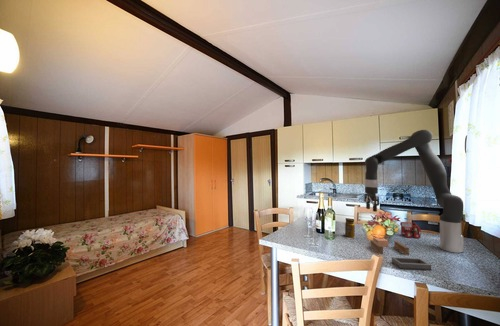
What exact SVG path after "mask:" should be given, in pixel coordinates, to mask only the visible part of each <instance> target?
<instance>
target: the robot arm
mask: <svg viewBox="0 0 500 326" xmlns="http://www.w3.org/2000/svg"><path fill="white" fill-rule="evenodd" d="M433 138H434V134H433V133H432V131H430V130H428V129H420V130H417V131H415V132H413V133H412V134H411V135H410V137H408V138H407V139H404V140H403V141H400V142H398V143H395V144H394V145H391V146H389V147H387V148H384V149H383V150H381V151H379V152H378V153H376V154H373V155H371V156H369V157H367V158H366V159H365V160H364V164H365V181H364V195H363V196H364V197H363V199H364V200H363V202H364V203H365V204H366V205H365V206H366V207H365V208H366V209H367V210H370V209H371V203H372V212H376V213H377V211H378V206H380V196H379V195H378V193H379V188H378V187H379V183H378V169H379V168H378V167H379V164H381V163H383V162H386V161H389V160H391V159H393V158H395V157H397V156H399V155H401V154H403V153H405V152H407V151H409V150H411V149H413V148H415V151H416V152H417V154H418V157H419V159H420V162H421V165H422V167H423V169H424V172H425V173H426V176H427V179H428V180H429V183H430V184H431V187H432V190H433V193H434V196H435V199H436V203H437V204H438V205H439V207H441V208H442V214H441V215H440V214H439V247H440V249H441V250H443V251H445V252H450V253H456V254H457V253H458V254H460V253H463V252H464V235H462V220H463V218H464V200H463V199H462V198H461V197H460V196H457V195H455V194H452V193H451V191H450V189H449V187H448V183H447V182H448V181H447V177H448V175H447V171H446V168H445V166H444V164H443V162H442V160H441V159H440V158H439V156H438V155H437V154H436V153H435V152H434V151H433V149H432V147H431V145H430V142H431V141H432V140H433Z"/></svg>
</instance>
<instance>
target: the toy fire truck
mask: <svg viewBox="0 0 500 326" xmlns="http://www.w3.org/2000/svg"><path fill="white" fill-rule="evenodd" d="M399 223H400V233H401V235H403V236H405V237H406V238H407V239H411V238H412V237H413V238H414V239H416V240H417V239H421V235H422V230H421V228H420V227H419V226H420V225H417V223H416V222H415V221H413V222H411V221H410V222H409V221H400V222H399Z"/></svg>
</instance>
